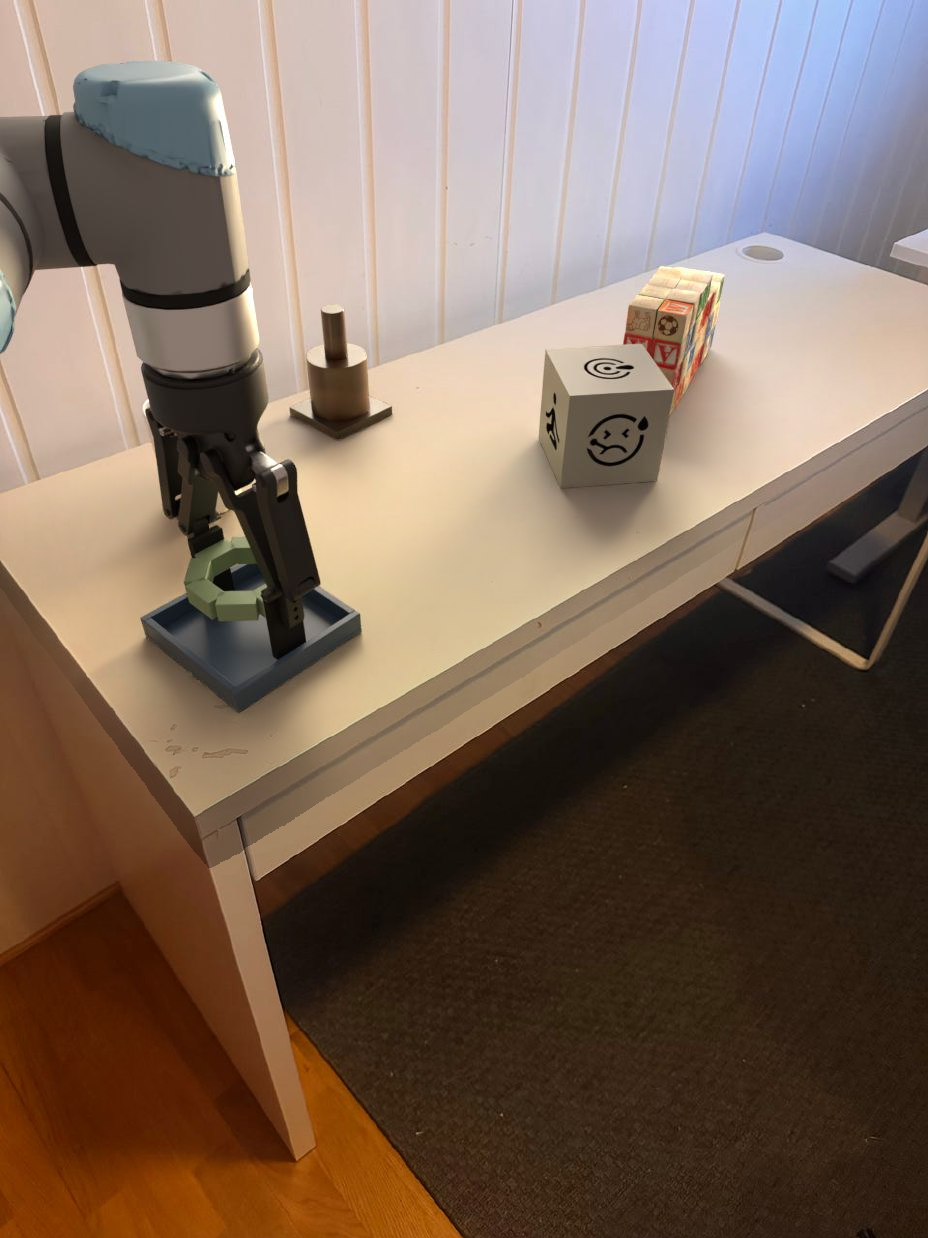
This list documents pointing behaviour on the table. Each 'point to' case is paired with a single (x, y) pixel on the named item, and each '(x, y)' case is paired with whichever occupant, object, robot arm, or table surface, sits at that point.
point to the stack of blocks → (676, 322)
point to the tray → (247, 641)
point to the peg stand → (338, 383)
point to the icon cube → (603, 414)
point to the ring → (214, 598)
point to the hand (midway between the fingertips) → (253, 623)
